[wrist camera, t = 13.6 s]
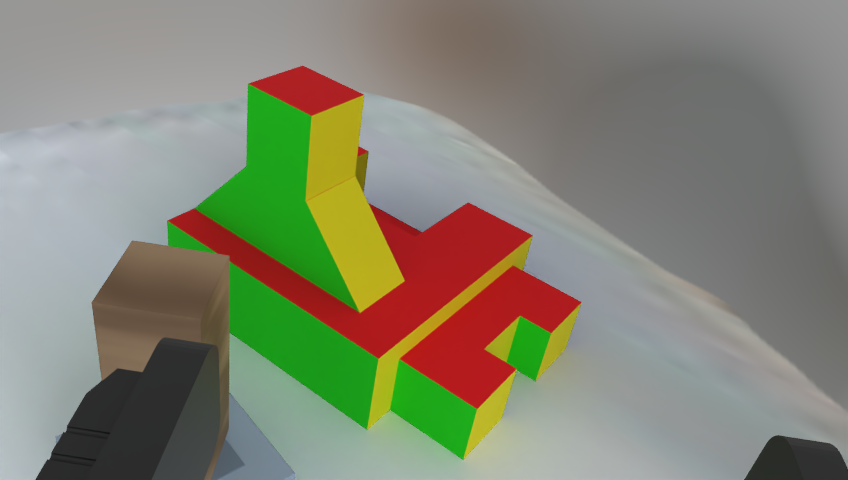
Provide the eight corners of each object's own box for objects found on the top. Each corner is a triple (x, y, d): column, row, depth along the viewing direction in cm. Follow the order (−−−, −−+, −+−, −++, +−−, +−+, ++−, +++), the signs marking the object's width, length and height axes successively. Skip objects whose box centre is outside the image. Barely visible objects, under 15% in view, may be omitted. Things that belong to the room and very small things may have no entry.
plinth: (212, 415, 48) (211, 368, 46) (291, 518, 43) (295, 472, 41) (64, 484, 43) (55, 435, 40) (135, 611, 38) (129, 564, 35)
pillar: (147, 416, 42) (132, 240, 35) (228, 428, 42) (229, 255, 36) (115, 484, 38) (91, 302, 32) (204, 497, 39) (200, 319, 32)
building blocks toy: (441, 485, 47) (503, 244, 36) (171, 293, 57) (159, 63, 47) (578, 336, 60) (652, 129, 50) (339, 203, 70) (359, 8, 60)
